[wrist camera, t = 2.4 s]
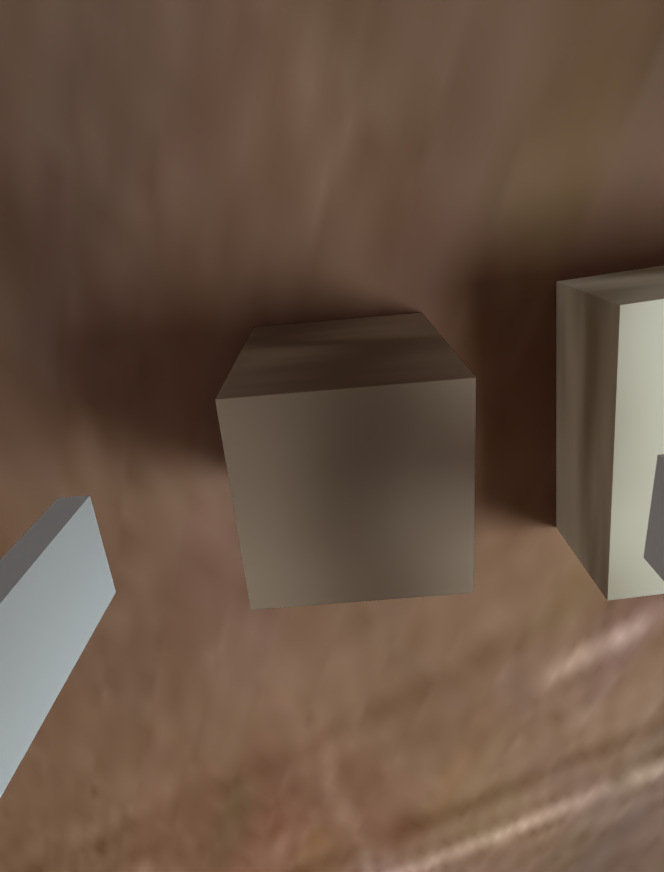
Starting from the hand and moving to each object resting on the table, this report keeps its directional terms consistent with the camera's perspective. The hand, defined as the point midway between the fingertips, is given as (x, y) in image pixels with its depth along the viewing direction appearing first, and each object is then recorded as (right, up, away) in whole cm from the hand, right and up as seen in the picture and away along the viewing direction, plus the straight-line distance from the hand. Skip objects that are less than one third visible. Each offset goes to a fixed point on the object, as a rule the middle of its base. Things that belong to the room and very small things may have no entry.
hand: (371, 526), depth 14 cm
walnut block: (-1, +3, +8) cm, 9 cm away
